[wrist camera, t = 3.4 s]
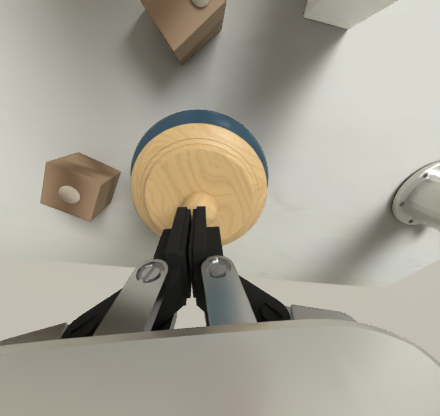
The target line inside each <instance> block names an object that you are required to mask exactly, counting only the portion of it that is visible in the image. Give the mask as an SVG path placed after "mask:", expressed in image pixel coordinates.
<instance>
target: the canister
mask: <svg viewBox="0 0 440 416" xmlns="http://www.w3.org/2000/svg"><path fill="white" fill-rule="evenodd" d="M267 187H268V167H267V162H266V158H265V155H264V153H263V151H262V148H261V146H260V145H259V143H258V142H257V140H256V139H255V137H254V136H253V135H252V134H251V133H250V132H249V131H248V130H247V129H246V128H245V127H244V126H243V125H241V124H240V123H239V122H237V121H236V120H234V119H232V118H230V117H228V116H226V115H223V114H220V113H217V112H213V111H207V110H188V111H182V112H178V113H175V114H172V115H170V116H168V117H165V118H164V119H162V120H160V121H159V122H157V123H156V124H155V125H153V126H152V127H151V128H150V129H149V130H148V131H147V132H146V133H145V135H144V136H143V137H142V139H141V140H140V142H139V143H138V145H137V147H136V150H135V152H134V155H133V159H132V163H131V195H132V199H133V203H134V206H135V208H136V210H137V212H138V214H139V216H140V217H141V219H142V220H143V222H144V223H145V224H146V225H147V226H148V227H149V228H150V229H151V230H152V231H153V232H154V233H155V234H157V235H158V236H159V237H161V235H162V232H163V230H164V229H171V228H172V225H173V221H174V218H175V214H176V210H177V207H187V209H191V218H192V215H193V209H196V208H197V206H206V224H207V227H216V226H219V228H220V236H221V243H222V246H223V245H226V244H228V243H231V242H233V241H235V240H236V239H238V238H240V237H241V236H242V235H244V234H245V233H246V232H247V231H248V230H249V229H250V228H251V227H252V226H253V225H254V224H255V222H256V221H257V220H258V218H259V216H260V214H261V213H262V210H263V208H264V205H265V201H266V196H267Z"/></svg>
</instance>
